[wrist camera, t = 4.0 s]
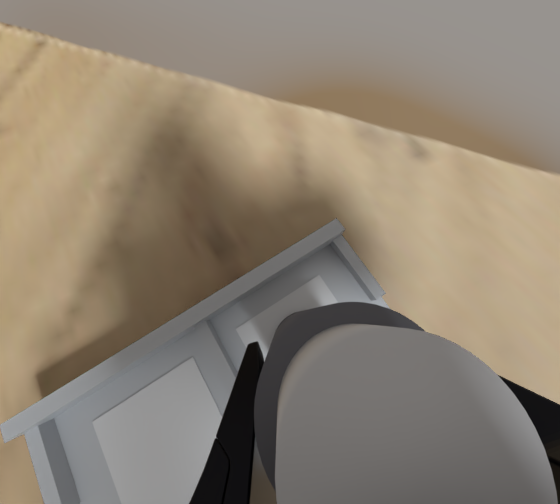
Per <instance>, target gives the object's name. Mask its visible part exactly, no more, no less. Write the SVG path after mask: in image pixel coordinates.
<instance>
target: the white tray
mask: <svg viewBox="0 0 560 504" xmlns="http://www.w3.org/2000/svg"><path fill="white" fill-rule="evenodd" d="M344 231H345V228H344V227H343V226H342V224H341V223H340V222H339V220H338V219H337V218H336V219H334V220H333V221H331V222H329V223H328V224H326V225H325V226H323V227H321V228H320V229H318V230H316V231H315V232H313V233H311V234H310V235H308V236H307V237H305V238H303V239H302V240H300V241H298V242H297V243H295V244H294V245H292V246H290V247H289V248H287V249H285V250H284V251H282V252H281V253H279V254H277V255H276V256H274V257H272V258H271V259H269V260H268V261H266V262H264V263H263V264H261V265H259V266H258V267H256V268H255V269H253V270H251V271H250V272H248V273H246V274H245V275H243V276H242V277H240V278H238V279H237V280H235V281H233V282H232V283H230V284H229V285H227V286H225V287H224V288H222V289H220V290H219V291H217V292H215V293H214V294H212V295H211V296H209V297H207V298H206V299H204V300H202V301H201V302H199V303H198V304H196V305H194V306H193V307H191V308H189V309H188V310H186V311H185V312H183V313H181V314H180V315H178V316H176V317H175V318H173V319H172V320H170V321H168V322H167V323H165V324H163V325H162V326H160V327H159V328H157V329H155V330H154V331H152V332H150V333H149V334H147V335H146V336H144V337H142V338H141V339H139V340H137V341H136V342H134V343H133V344H131V345H129V346H128V347H126V348H124V349H123V350H121V351H119V352H118V353H116V354H115V355H113V356H111V357H110V358H108V359H106V360H105V361H103V362H102V363H100V364H98V365H97V366H95V367H93V368H92V369H90V370H89V371H87V372H85V373H84V374H82V375H80V376H79V377H77V378H76V379H74V380H72V381H71V382H69V383H67V384H66V385H64V386H63V387H61V388H59V389H58V390H56V391H54V392H53V393H51V394H50V395H48V396H46V397H45V398H43V399H41V400H40V401H38V402H36V403H35V404H33V405H32V406H30V407H28V408H27V409H25V410H23V411H22V412H20V413H19V414H17V415H15V416H14V417H12V418H10V419H9V420H7V421H6V422H4V423H2V424H1V425H0V429H1V432H2V436H3V440H4V443H6V442H8V441H10V440H13V439H15V438H17V437H19V436H21V435H23V434H24V435H25V439H26V442H27V446H28V449H29V453H30V456H31V460H32V463H33V467H34V470H35V473H36V477H37V480H38V484H39V487H40V491H41V494H42V498H43V501H44V504H189V502H190V500H191V498H192V496H193V493H194V491H195V489H196V486H197V484H198V482H199V479H200V477H201V475H202V472H203V470H204V467H205V464H206V462H207V459H208V456H209V454H210V451H211V448H212V445H213V442H214V439H215V438H216V434H217V431H218V428H219V425H220V422H221V420H222V417H223V414H224V411H225V408H226V405H227V402H228V399H229V397H230V394H231V391H232V388H233V385H234V382H235V379H236V377H237V374H238V371H239V368H240V365H241V362H242V359H243V356H244V354H245V351H246V348H247V345H248V344H249V343H252V342H256V341H257V342H258V343H259V346H260V348H261V351H262V354H263V357H264V362H265V359H266V356H267V353H268V350H269V348H270V345H271V342H272V339H273V336H274V334H275V331H276V329H277V327H278V326H279V324H280V323H281V322H282V321H283V320H284V319H285V318H286V317H287V316H289V315H291V314H293V313H295V312H299V311H303V310H308V309H312V308H317V307H321V306H326V305H330V304H334V303H340V302H365V303H371V304H376V305H379V306H382V307H386V308H389V307H388V305H387V304H386V302H385V301H384V300H383V298H382V296H383V295H384V294H386V293H385V292H384V290H383V289H382V288H381V286H380V285H379V284H378V282H377V281H376V280H375V278H374V277H373V276H372V274H371V273H370V272H369V270H368V269H367V268H366V266H365V265H364V264H363V262H362V261H361V260H360V258H359V257H358V256H357V254H356V253H355V252H354V250H353V249H352V248H351V246H350V245H349V244H348V242H347V241H346V240H345V238H344V237H343V236H342V233H343V232H344ZM389 309H390V308H389Z"/></svg>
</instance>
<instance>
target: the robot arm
mask: <svg viewBox="0 0 560 504" xmlns="http://www.w3.org/2000/svg"><path fill="white" fill-rule="evenodd" d="M263 364H264V357H263V354H262V351H261V348H260V346H259V343H258V342H257V341H256V342H252V343H249V344H248V345H247V348H246V351H245V354H244V356H243V359H242V362H241V365H240V368H239V371H238V374H237V377H236V379H235V382H234V385H233V388H232V391H231V394H230V397H229V399H228V402H227V405H226V408H225V411H224V414H223V417H222V420H221V422H220V425H219V428H218V431H217V434H216V438H215V439H214V442H213V445H212V448H211V451H210V454H209V456H208V459H207V462H206V464H205V467H204V470H203V472H202V475H201V477H200V479H199V482H198V484H197V486H196V489H195V491H194V493H193V496H192V498H191V500H190V502H189V504H277V500H276V492H275V490H274V488H273V487H272V485H271V483H270V481H269V479H268V477H267V474H266V472H265V470H264V467H263V465H262V462H261V458H260V455H259V451H258V448H257V442H256V436H255V427H254V403H255V395H256V389H257V383H258V380H259V377H260V373H261V370H262V367H263ZM498 376H499V375H498ZM499 377H500V378H501V379H502V380H503V382H504V383H505V384H506V385H507V386H508V387H509V388H510V390H511V391H512V392H513V393H514V395H515V396H516V398H517V399H518V400H519V402H520V403H521V405H522V406H523V407H524V409H525V411H526V412H527V414H528V416H529V418H530V419H531V421H532V423H533V425H534V426H535V428H536V430H537V433H538V435H539V437H540V439H541V442H542V444H543V446H544V448H545V451H546V454H547V457H548V460H549V463H550V466H551V469H552V474H553V478H554V483H555V487H556V492H557V500H558V504H560V405H559V404H557V403H555V402H553V401H551V400H549V399H547V398H545V397H543V396H540V395H538V394H536V393H534V392H532V391H530V390H528V389H526V388H524V387H521V386H519V385H517V384H515V383H513V382H511V381H509V380H507V379H505V378H503V377H501V376H499Z"/></svg>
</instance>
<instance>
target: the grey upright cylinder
mask: <svg viewBox="0 0 560 504" xmlns="http://www.w3.org/2000/svg"><path fill="white" fill-rule="evenodd" d="M254 427H255V436H256V442H257V448H258V451H259V455H260V458H261V462H262V465H263V467H264V470H265V472H266V474H267V477H268V479H269V481H270V483H271V485H272V487H273V488H274V490H275V492H276V500H277V504H558V500H557V492H556V487H555V483H554V478H553V474H552V469H551V466H550V463H549V460H548V457H547V454H546V451H545V448H544V446H543V444H542V442H541V439H540V437H539V435H538V433H537V430H536V428H535V426H534V425H533V423H532V421H531V419H530V418H529V416H528V414H527V412H526V411H525V409H524V407H523V406H522V405H521V403H520V402H519V400H518V399H517V398H516V396H515V395H514V393H513V392H512V391H511V390H510V388H509V387H508V386H507V385H506V384H505V383H504V382H503V380H502V379H501V378H500V377H499V376H498V375H497V374H496V373H495V372H494V371H493V370H492V369H491V368H489V367H488V366H487V365H486V364H485V363H484V362H483V361H481V360H480V359H479V358H477V357H476V356H475V355H473V354H472V353H471V352H469V351H467V350H466V349H464V348H462V347H461V346H459V345H457V344H456V343H454V342H451V341H449V340H447V339H445V338H442V337H440V336H437V335H434V334H431V333H428V332H425V331H424V330H423V329H422V328H421V327H419V326H418V325H417V324H415V323H414V322H413V321H411V320H410V319H408V318H406V317H405V316H403V315H401V314H400V313H398V312H395V311H393V310H391V309H389V308H386V307H382V306H379V305H376V304H371V303H365V302H340V303H334V304H330V305H326V306H321V307H317V308H312V309H308V310H303V311H299V312H295V313H293V314H291V315H289V316H287V317H286V318H285V319H284V320H283V321H282V322H281V323H280V324H279V326H278V327H277V329H276V331H275V334H274V336H273V339H272V342H271V345H270V348H269V350H268V353H267V356H266V359H265V362H264V364H263V367H262V370H261V373H260V377H259V380H258V383H257V389H256V395H255V403H254Z"/></svg>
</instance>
